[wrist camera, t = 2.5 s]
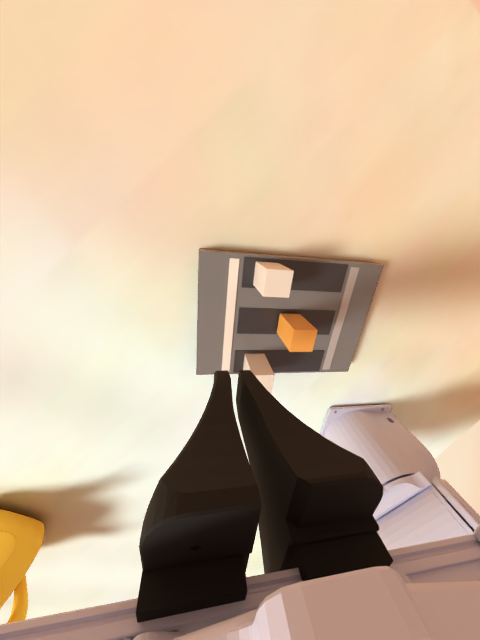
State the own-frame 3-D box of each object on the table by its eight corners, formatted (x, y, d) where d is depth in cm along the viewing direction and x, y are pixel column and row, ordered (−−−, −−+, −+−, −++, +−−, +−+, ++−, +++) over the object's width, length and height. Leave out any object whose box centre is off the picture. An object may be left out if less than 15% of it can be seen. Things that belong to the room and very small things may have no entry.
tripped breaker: (300, 313, 21) (317, 330, 18) (295, 333, 22) (312, 351, 19) (279, 313, 21) (294, 329, 17) (276, 332, 21) (289, 351, 18)
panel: (373, 262, 22) (417, 272, 17) (340, 364, 27) (369, 393, 22) (199, 248, 19) (198, 256, 14) (196, 366, 24) (195, 400, 19)
